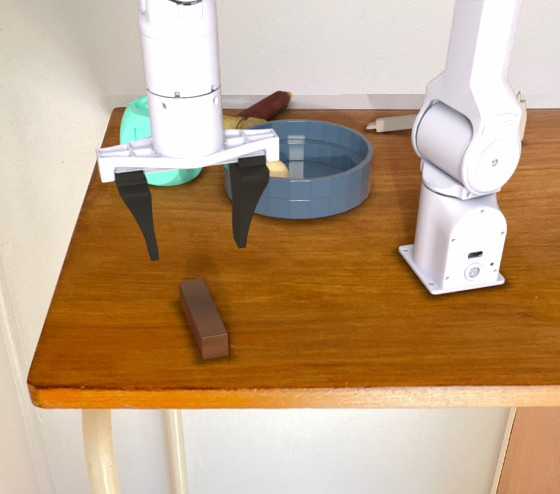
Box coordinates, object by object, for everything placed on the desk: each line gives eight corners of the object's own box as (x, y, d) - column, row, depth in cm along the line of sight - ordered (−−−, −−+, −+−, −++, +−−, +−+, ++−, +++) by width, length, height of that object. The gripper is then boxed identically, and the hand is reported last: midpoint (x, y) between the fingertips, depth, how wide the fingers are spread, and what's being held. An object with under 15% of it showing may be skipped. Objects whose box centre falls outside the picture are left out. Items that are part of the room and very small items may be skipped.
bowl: (391, 213, 97) (395, 169, 93) (244, 232, 93) (243, 188, 90) (343, 152, 108) (345, 112, 105) (211, 168, 105) (208, 127, 102)
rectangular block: (229, 356, 77) (227, 333, 75) (203, 360, 76) (201, 338, 75) (204, 299, 84) (202, 277, 82) (180, 303, 83) (178, 281, 81)
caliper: (521, 141, 111) (531, 91, 106) (521, 144, 110) (531, 94, 106) (367, 128, 114) (370, 79, 110) (365, 131, 113) (369, 81, 109)
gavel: (258, 71, 120) (323, 82, 117) (258, 105, 123) (321, 117, 120) (182, 112, 106) (254, 125, 103) (184, 149, 109) (254, 163, 106)
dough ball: (262, 173, 94) (278, 204, 97) (287, 152, 95) (301, 183, 98) (242, 171, 97) (257, 201, 100) (265, 150, 98) (280, 180, 100)
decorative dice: (185, 190, 101) (179, 121, 95) (124, 181, 102) (114, 113, 97) (209, 163, 106) (205, 96, 100) (151, 155, 108) (144, 89, 102)
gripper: (262, 58, 68) (265, 217, 78) (81, 76, 66) (107, 238, 75) (286, 88, 64) (286, 254, 73) (92, 109, 61) (118, 278, 70)
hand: (196, 249), depth 74 cm, fingers open, 7 cm apart
